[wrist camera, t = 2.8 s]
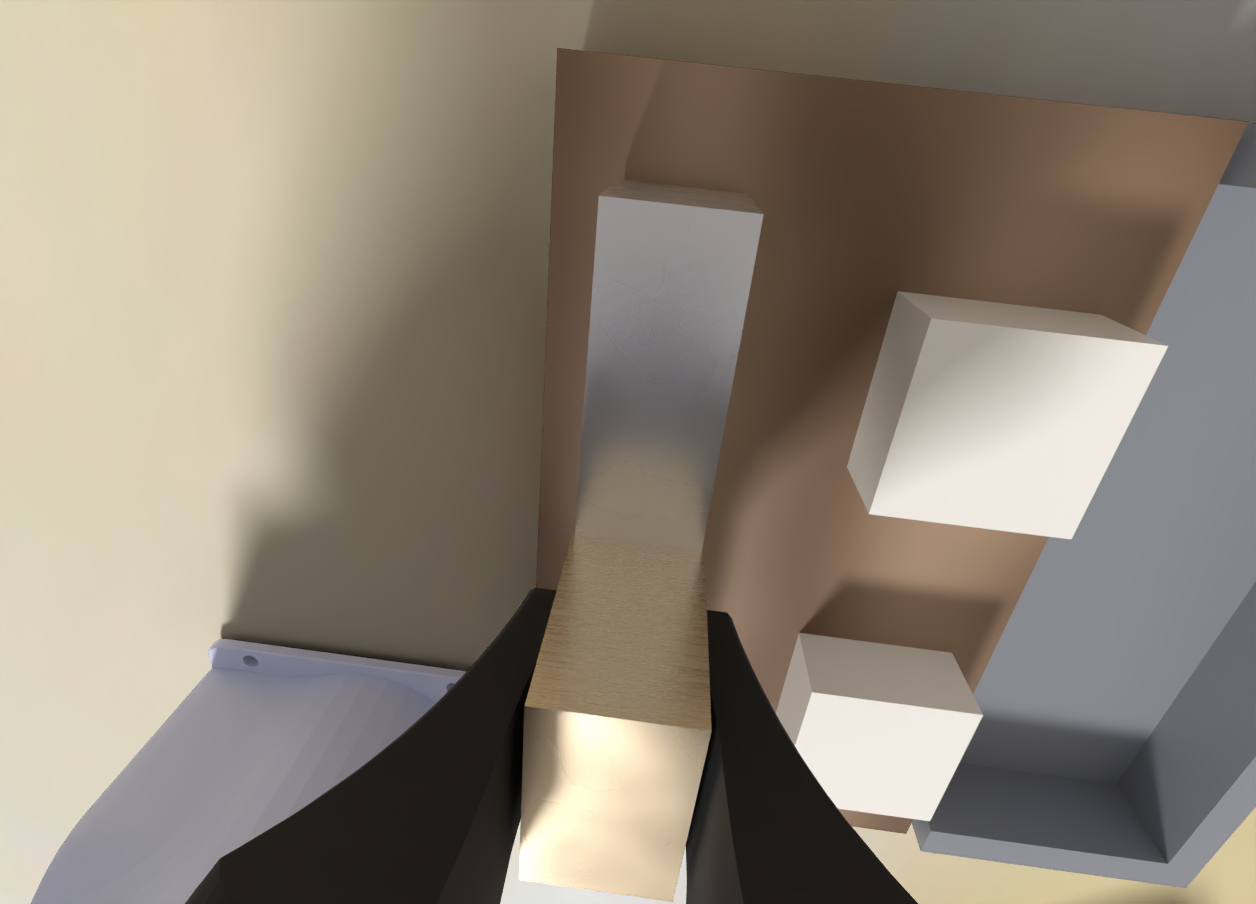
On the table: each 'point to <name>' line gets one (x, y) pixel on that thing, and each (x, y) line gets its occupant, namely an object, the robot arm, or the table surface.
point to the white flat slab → (638, 548)
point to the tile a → (878, 722)
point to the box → (1139, 615)
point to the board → (856, 311)
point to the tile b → (996, 413)
